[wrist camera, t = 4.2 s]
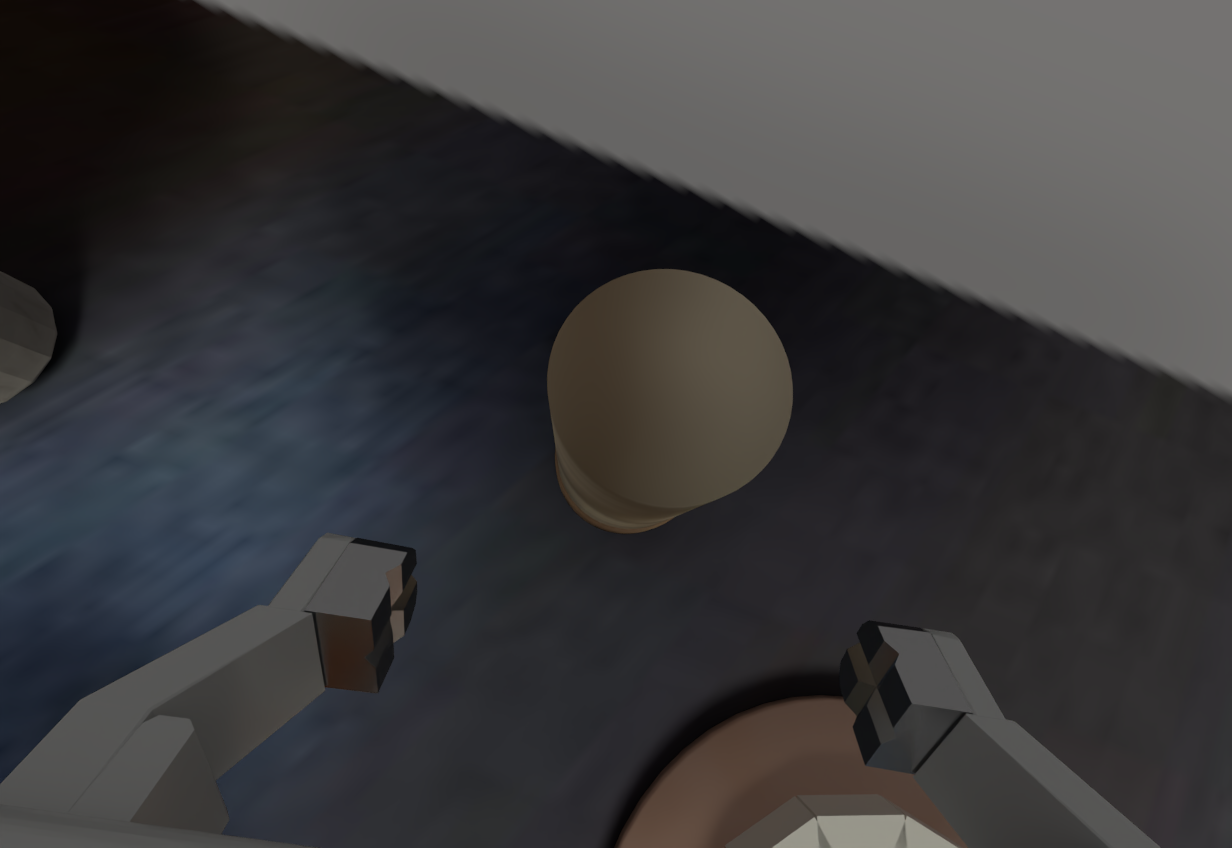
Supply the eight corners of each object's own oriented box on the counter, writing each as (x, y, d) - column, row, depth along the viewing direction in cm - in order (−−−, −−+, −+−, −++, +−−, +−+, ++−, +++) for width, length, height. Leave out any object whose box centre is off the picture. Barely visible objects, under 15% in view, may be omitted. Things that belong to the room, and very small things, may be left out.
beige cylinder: (692, 399, 22) (790, 271, 12) (694, 535, 20) (805, 514, 11) (559, 394, 21) (548, 257, 12) (553, 532, 20) (535, 508, 10)
